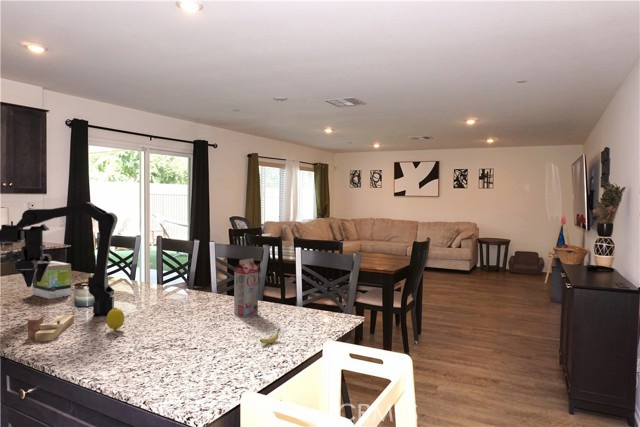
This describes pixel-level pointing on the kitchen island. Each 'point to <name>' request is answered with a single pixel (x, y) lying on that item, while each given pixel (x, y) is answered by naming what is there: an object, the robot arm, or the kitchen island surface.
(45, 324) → the chocolate colored brick
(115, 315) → the lemon
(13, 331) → the kitchen island surface
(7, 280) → the kitchen island surface
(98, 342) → the kitchen island surface
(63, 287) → the tea box
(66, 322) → the plank
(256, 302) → the juice carton
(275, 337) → the banana
